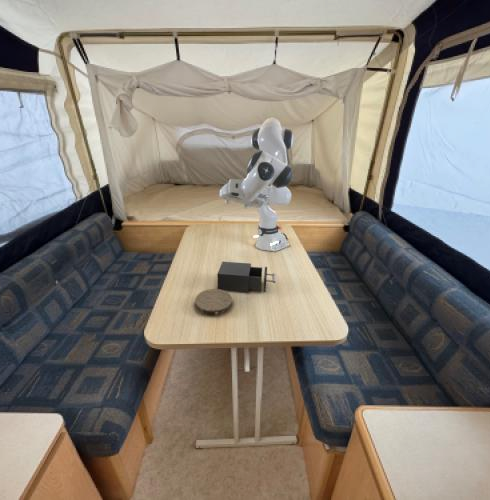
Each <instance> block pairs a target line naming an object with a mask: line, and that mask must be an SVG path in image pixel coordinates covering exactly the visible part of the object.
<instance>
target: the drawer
mask: <svg viewBox="0 0 490 500" xmlns="http://www.w3.org/2000/svg"><path fill="white" fill-rule="evenodd" d="M268 276H271V277H272V280H271V279H267V278H268ZM262 277H263V279H262ZM262 280H263V286H262ZM267 282H268V283H272V284H276V273H268V266H264V273H263V267H259V266H251V268H250V273H249V285H248V289H249V290H252V291H261V289H262V291H263V293H266V292H267ZM262 287H263V288H262Z"/></svg>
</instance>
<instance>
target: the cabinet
mask: <svg viewBox="0 0 490 500" xmlns="http://www.w3.org/2000/svg"><path fill="white" fill-rule="evenodd" d="M251 267H252V263H250V262H234V261H221V264H220V266H219V269H218V271H217V274H216V275H217V277H216V278H217V289H221V290H224V291H226V292H234V293H244V294H247V293H248V294H249V290H250V289H248V285H249V273H250V268H251Z"/></svg>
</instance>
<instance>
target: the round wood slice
mask: <svg viewBox="0 0 490 500" xmlns="http://www.w3.org/2000/svg"><path fill="white" fill-rule="evenodd" d="M194 301H195V302H194V303H195V309H196V311H197V312H198V313H199V314H201V315H203V316H207V317H219V316H222V315H225V314H227V313H228V312H230V310H231V309H232V306H233V298H232V296H231V294H230V293H229V291H224V290H221V289H218V288H210V289H206V290H203V291H200V292H199V293H198V294H197V295H196V296H195V299H194Z"/></svg>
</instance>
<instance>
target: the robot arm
mask: <svg viewBox="0 0 490 500" xmlns="http://www.w3.org/2000/svg"><path fill="white" fill-rule="evenodd" d="M281 124H282V123H281V122H280V121H279V119H278V118H275V117H269V118H267V119H265V120H264V122H263V123H261V126H260V127H258V128H256V129H254V130H253V131H252V134H251V137H250V143H251V146H252V148H253V149H254V150H256V151H255V152H254V153H253V155H252V156H251V158H250V159H249V161H248V162H247V164H246V174H247V175H246V178H241V179H239V178H237V179H236V178H230V179H229V181H228V182H227V183H225V184H224V185H223V186H222V187H221V188H220V190H219V198H220V199H222V200H224V204H227V205H229V204H230V202H233V203H236V204H241V205H243V209H245V210H246V209H248V208H255V209H257V211H258V226H257V235H253V238H257V239H256V242H255V247H256V248H257V249H259V250H261V251H270V252H277V251H279V250H282V249H285V248H287V247H289V246H290V243H289V242H288V241H287V240H288V236H287V235H286V233H284V232H281V230H282V229H283V227H282V226H280V225H278V224H277V223H278V213H277V212H276V211H275V210H273V209H272V208H271V207H270V206H278V207H280V206H287V205H289V204H290V202H291V200H292V192H291V190H290V189H289V188H288V187H287V186H288V185H289V184H290V182H291V180H292V178H293V173H294V172H293V168H292V166H291V163H290V157H289V150H290V149H291V148H292V146H293V144H294V134H293V131H292V129H289V128H282V125H281Z"/></svg>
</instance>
